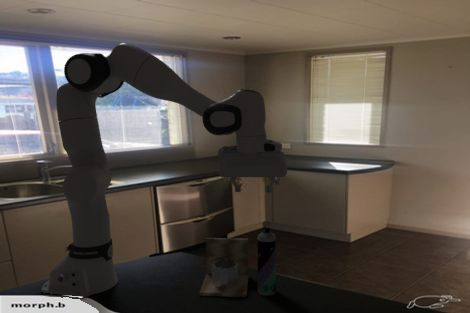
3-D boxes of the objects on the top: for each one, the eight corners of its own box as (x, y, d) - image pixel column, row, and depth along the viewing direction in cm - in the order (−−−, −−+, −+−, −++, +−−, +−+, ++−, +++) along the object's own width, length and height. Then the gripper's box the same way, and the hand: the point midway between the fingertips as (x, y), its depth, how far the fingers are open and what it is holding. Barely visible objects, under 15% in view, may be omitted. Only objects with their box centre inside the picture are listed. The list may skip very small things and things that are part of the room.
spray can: (255, 293, 106) (255, 229, 104) (260, 285, 111) (260, 224, 109) (272, 297, 104) (273, 231, 102) (277, 288, 109) (277, 225, 107)
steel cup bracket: (210, 288, 108) (210, 269, 107) (215, 273, 118) (215, 256, 117) (237, 288, 107) (236, 269, 107) (239, 274, 117) (239, 257, 117)
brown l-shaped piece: (199, 295, 105) (198, 253, 104) (207, 275, 119) (206, 237, 118) (246, 297, 104) (246, 254, 103) (248, 276, 118) (248, 238, 117)
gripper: (214, 147, 103) (216, 193, 105) (284, 145, 98) (285, 194, 99) (221, 145, 109) (223, 189, 111) (287, 143, 104) (288, 190, 105)
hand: (253, 191), depth 105 cm, fingers open, 8 cm apart
